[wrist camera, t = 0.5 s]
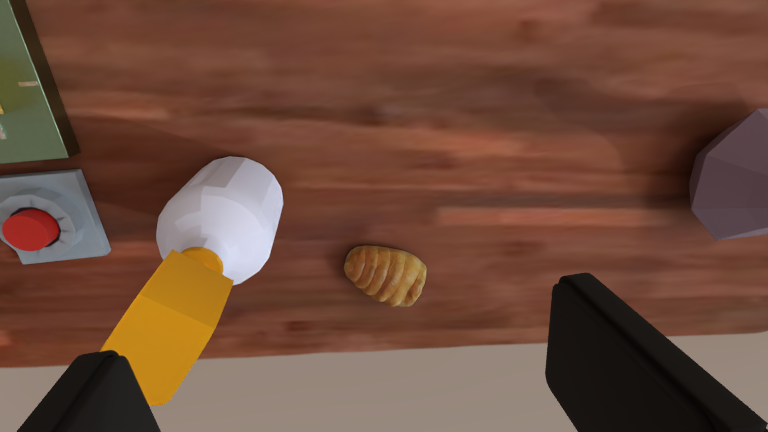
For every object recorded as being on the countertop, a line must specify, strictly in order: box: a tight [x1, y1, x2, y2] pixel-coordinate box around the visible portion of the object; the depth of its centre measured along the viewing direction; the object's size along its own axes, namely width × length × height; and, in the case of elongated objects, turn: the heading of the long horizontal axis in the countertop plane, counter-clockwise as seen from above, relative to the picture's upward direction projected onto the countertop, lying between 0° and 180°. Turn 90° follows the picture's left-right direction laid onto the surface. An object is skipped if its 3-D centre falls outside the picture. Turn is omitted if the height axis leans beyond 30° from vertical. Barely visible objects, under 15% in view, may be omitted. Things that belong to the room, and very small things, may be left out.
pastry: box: [344, 245, 426, 307], centre depth 45 cm, size 9×7×4 cm
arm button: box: [2, 209, 59, 251], centre depth 37 cm, size 4×4×2 cm
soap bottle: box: [100, 156, 283, 406], centre depth 30 cm, size 9×9×25 cm
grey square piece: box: [0, 169, 111, 264], centre depth 38 cm, size 9×8×3 cm
